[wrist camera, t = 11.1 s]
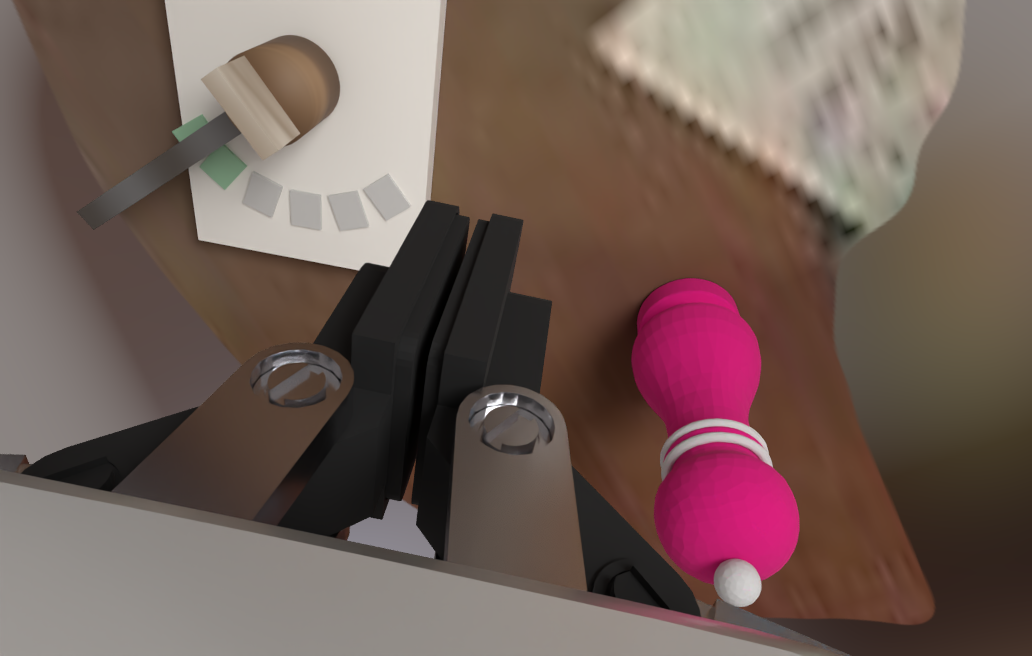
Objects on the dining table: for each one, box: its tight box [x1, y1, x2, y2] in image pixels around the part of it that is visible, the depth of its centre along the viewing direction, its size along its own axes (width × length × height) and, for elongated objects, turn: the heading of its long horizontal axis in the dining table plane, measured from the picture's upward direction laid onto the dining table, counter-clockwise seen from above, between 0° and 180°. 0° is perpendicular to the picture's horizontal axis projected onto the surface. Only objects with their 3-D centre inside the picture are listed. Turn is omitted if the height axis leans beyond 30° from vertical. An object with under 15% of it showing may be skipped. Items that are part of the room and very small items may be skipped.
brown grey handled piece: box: [77, 35, 340, 230], centre depth 33 cm, size 16×4×6 cm, turn 120°
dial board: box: [165, 0, 447, 270], centre depth 36 cm, size 16×15×2 cm
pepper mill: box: [631, 278, 799, 607], centre depth 33 cm, size 7×7×20 cm
